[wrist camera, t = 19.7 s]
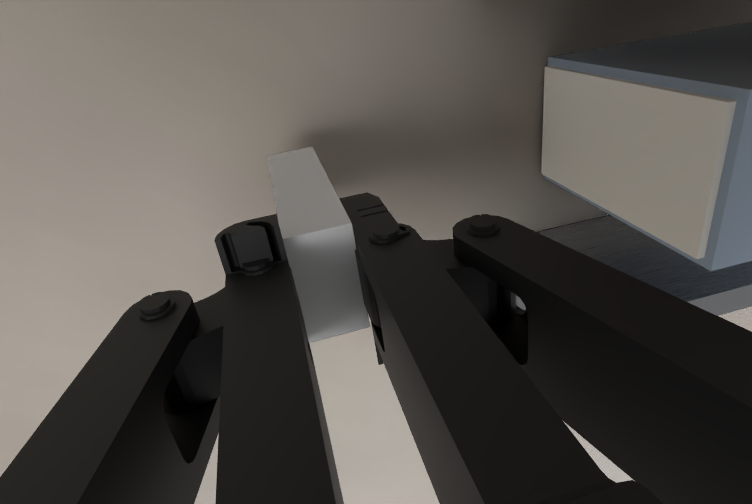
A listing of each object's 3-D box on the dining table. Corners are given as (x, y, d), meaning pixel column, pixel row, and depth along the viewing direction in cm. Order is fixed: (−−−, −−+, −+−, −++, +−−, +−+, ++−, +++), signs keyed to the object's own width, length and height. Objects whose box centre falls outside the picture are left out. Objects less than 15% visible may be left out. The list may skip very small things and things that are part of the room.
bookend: (512, 237, 23) (612, 321, 17) (666, 202, 24) (810, 268, 18) (512, 341, 26) (597, 447, 20) (649, 305, 27) (770, 393, 21)
